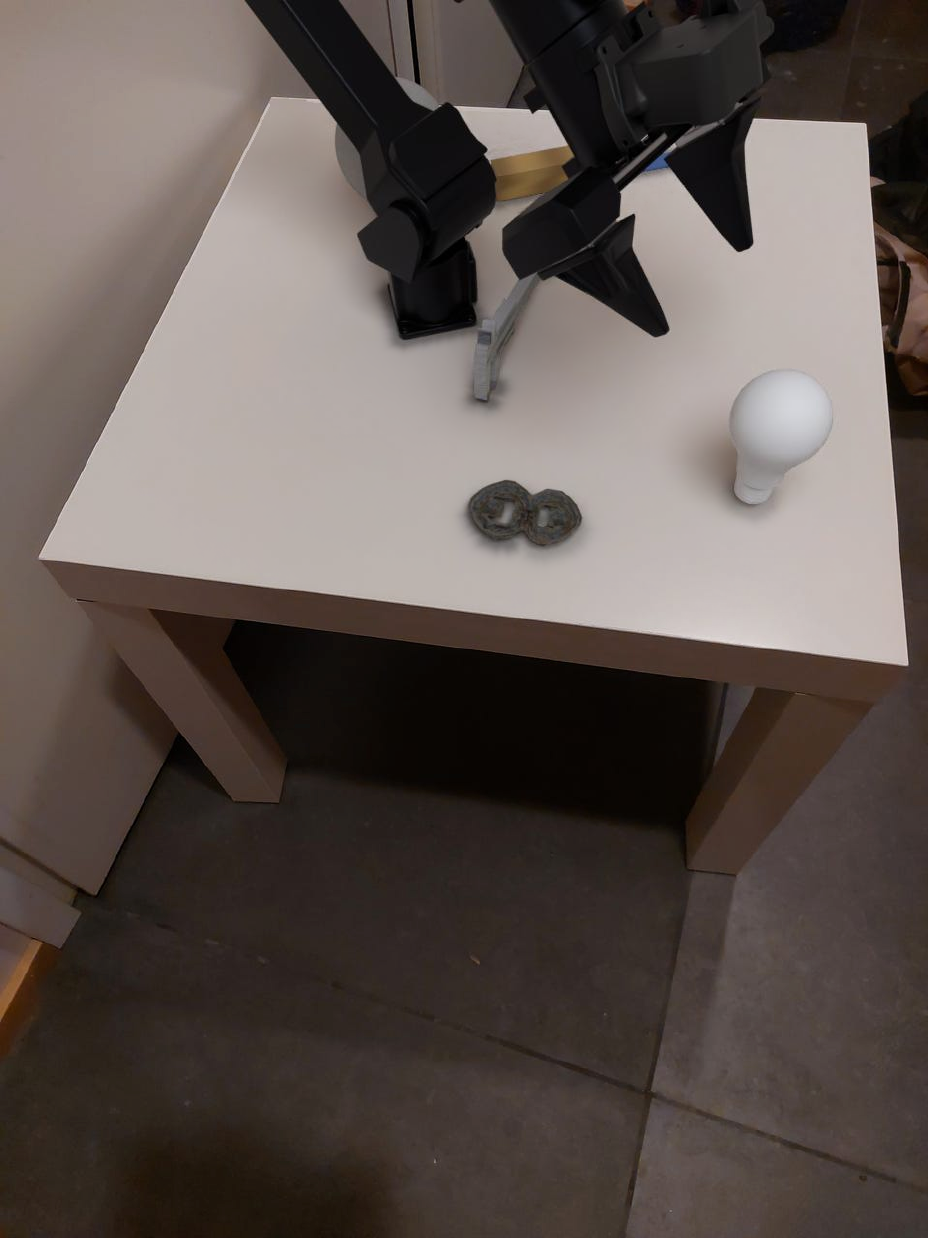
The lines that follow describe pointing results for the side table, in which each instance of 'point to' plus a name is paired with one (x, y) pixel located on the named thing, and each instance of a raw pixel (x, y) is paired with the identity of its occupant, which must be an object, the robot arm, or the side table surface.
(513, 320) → the caliper
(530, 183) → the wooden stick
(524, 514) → the corroded twin loop
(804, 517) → the side table surface
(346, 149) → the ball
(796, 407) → the lightbulb
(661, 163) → the tape mark
